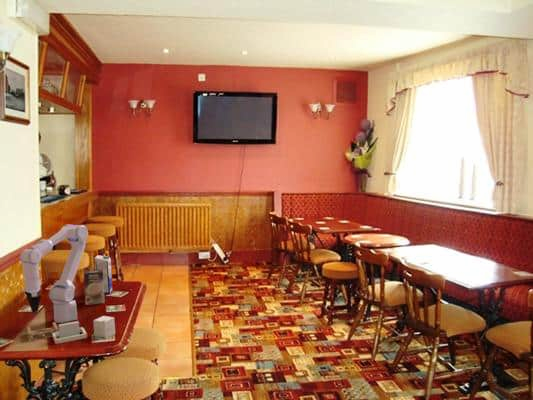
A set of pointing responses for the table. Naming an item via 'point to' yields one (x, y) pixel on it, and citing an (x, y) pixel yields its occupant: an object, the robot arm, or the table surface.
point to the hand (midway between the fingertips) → (34, 309)
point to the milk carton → (105, 271)
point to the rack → (41, 331)
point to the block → (69, 329)
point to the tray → (71, 338)
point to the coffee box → (94, 287)
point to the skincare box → (104, 326)
